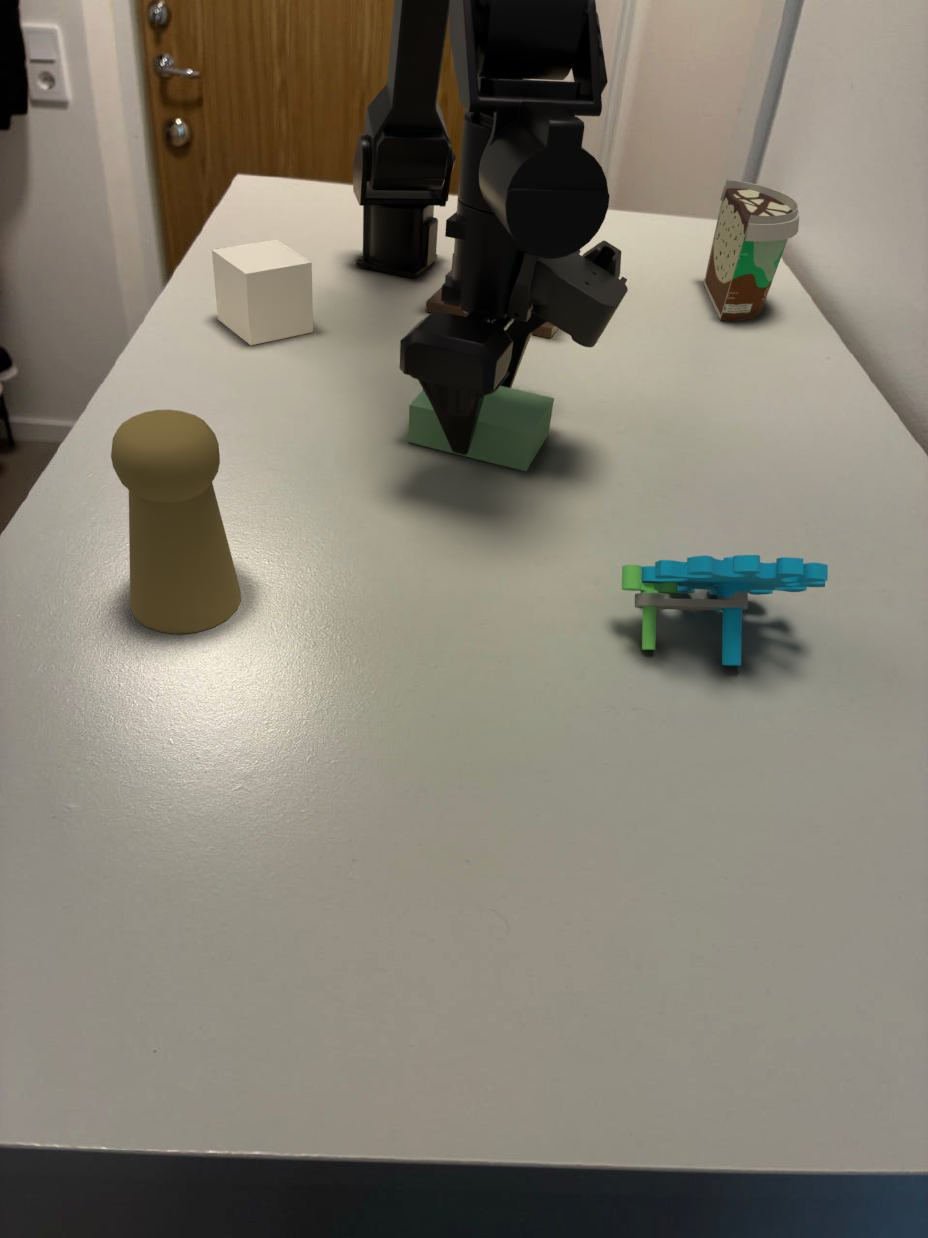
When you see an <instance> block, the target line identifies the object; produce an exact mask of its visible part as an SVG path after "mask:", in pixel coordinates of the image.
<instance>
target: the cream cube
mask: <svg viewBox="0 0 928 1238" xmlns="http://www.w3.org/2000/svg"><path fill="white" fill-rule="evenodd" d="M211 257H212V268H213V279H214V280H213V281H214V290H215V301H216V312H217V320H218V321H219V322H221V323H222V324H223V325H224V326H225V327H227V328H228V329H229V330H230V331H232V332H233V333H234V334H235V335H237V336H238V337H239V338H241V339H242V340H243V341H244V342H246V343H247V344H248V345H249V346H255V345H260V344H265V343H269V342H274V341H279V340H283V339H288V338H293V337H298V336H302V335H305V334H309V333H310V334H311V333H314V309H313V308H314V306H313V305H314V303H313V297H314V296H313V263H312V261H310V260H309V259H307V258H306V257H305V256H302V255H300V254H299V253H298V252H296V251H295V250H293V249H291V248H290V247H288V246H286V244H283V243H282V242H280V241H279V240H277V239H272V240H271V239H270V240H265V241H259V242H253V243H245V244H239V245H233V246H228V247H227V246H226V247H220V248H214V249H213V248H212V249H211Z"/></svg>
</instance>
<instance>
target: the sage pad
mask: <svg viewBox="0 0 928 1238" xmlns="http://www.w3.org/2000/svg"><path fill="white" fill-rule="evenodd" d="M554 401H555V398H554V397H551V396H547V395H542V394H537V393H534V392H530V391H526V390H521V389H516V388H512V387H511V388H508V387H504V386H500V387H499V388H498V389H497V390H496V391H495V392H493V393H492V394H487V395H485V396H484V399H483V403H482V407H481V410H480V414H479V418H478V421H477V425H476V429H475V432H474V436H473V439H472V442H471V446H470V449H469V452H468V453H467V454H466V455H462V454H458V453H455V452H453V451H452V449H451V447H450V445H449V443H448V441H447V438H446V436H445V434H444V432H443V429H442V427H441V425H440V423H439V420H438V418H437V416H436V414H435V412H434V410H433V407H432V405H431V403H430V401H429V399H428V397H427V396H426V394H425V392H424V390H423V389H422V390H421V391H420V392H419V393H418V395H417V396H416V397H414V399H413V400H412V401H411V402H410V404H409V406H408V429H407V443H409V444H414V445H417V446H420V447H421V446H422V447H426V448H430V449H434V450H436V451H437V450H438V451H442V452H446V453H450V454H454V455H458V456H462V457H467V458H470V459H474V460H478V461H482V462H487V463H490V464H495V465H498V466H502V467H505V468H510V469H514V470H518V471H522V472H527V471H528V469H529V467H530V466H531V464H532V463H533V461H534V459H535V457H536V456H537V454H538V453H539V451H540V449H541V448H542V446H543V445H544V443H545V441H546V439H548V438H547V437H548V436H549V434H550V427H551V422H552V421H551V420H552V413H553V408H554Z"/></svg>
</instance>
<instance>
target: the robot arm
mask: <svg viewBox="0 0 928 1238" xmlns="http://www.w3.org/2000/svg"><path fill="white" fill-rule="evenodd" d="M599 18H600V17H599V14H598V12H597V2H596V0H393V9H392V22H391V33H390V43H389V44H390V45H389V55H388V67H387V77H386V78H387V80H386V84H385V85H384V86H383V87H382V88H381V90H380V91H379V92H378V93H377V94H376V95H375V97H374V98H373V99H372V101H370V103H369V105H367V106H366V107H367V108H366V112H365V121H364V132H363V134H358V136H357V142H356V147H355V152H354V159H353V164H352V190H353V191H352V192H353V194H354V196H355V198H356V201H357V203H358V205H359V206H361V207H362V255H361V256H359V257H358V258H356V259H355V266H357V267H360V268H365V269H369V270H373V271H374V270H375V271H379V272H384V273H389V274H393V275H399V276H402V277H408V278H417V277H418V276H419V275H421V274H422V273H423V272H424V271H425V270H426V269H427V268H429V267H430V266H431V265H433V263H435V262H436V261H437V259H438V254H437V245H438V232H439V231H438V228H439V219H438V217H435V216H434V213H435V207H437V206H438V207H440V208H441V207H443V208H444V207H446V205H447V202H449V197H450V196H449V195H450V194H449V193H450V188H451V182H452V176H453V173H454V172H453V171H454V168H455V164H456V161H457V155H456V154H455V152H454V151H453V147H452V142H451V141H452V140H451V139H450V137H449V134H448V131H447V126H446V122H445V119H444V115H443V112H442V108H441V106H440V103H439V102H438V96H439V91H440V90H439V89H440V81H441V75H442V68H443V60H444V53H445V45H446V38H447V30H448V36H449V43H450V44H449V45H450V50H451V57H452V63H453V68H454V74H455V79H456V85H457V90H458V91H457V92H458V97H459V102H460V103H459V104H460V106H461V107H463V109H464V114H463V119H462V120H463V121H462V132H461V134H462V135H461V146H460V147H461V148H460V162H459V176H458V191H457V202H456V203H457V205H456V211H455V212H454V213H453V214H451V216H450V217H448V218H447V219H445V233H444V237H445V238H451V239H454V246H453V253H454V259H453V273H452V277H451V278H450V279H448V280H447V281H446V282H445V281H444V282H443V284H442V285H441V287H442V294H441V301H445V302H450V303H454V304H459V305H460V310H462V311H463V312H464V313H468V314H469V315H468V316H467V317H464V316H459V315H455V314H450V313H446V312H441V311H436V310H434V311H433V312H432V313H431V312H429V314H428V315H427V316H425V317H424V318H422V319H420V321H419V322H418V323H417V324H416V325H415V326H414V327H413V328H411V330H409V332H407V334H405V335H404V336H403V337H402V338H401V339H400V340H399V341H400V342H399V343H400V344H399V345H400V346H399V370H400V372H402V373H403V374H404V375H407V376H409V377H411V378H412V379H414V380H417V381H418V382H419V385H420V386H421V388H422V390H424V392H425V394H426V396H427V397H428V399H429V401H430V403H431V405H432V407H433V410H434V412H435V414H436V416H437V418H438V420H439V423H440V425H441V427H442V429H443V432H444V434H445V436H446V438H447V441H448V443H449V445H450V447H451V449H452V451H453V452H455V453H458V454H462V455H466V454H467V453H468V452H469V449H470V446H471V442H472V439H473V436H474V432H475V429H476V425H477V421H478V418H479V414H480V410H481V407H482V403H483V399H484V396H485V395H487V394H492V393H493V392H495V391H496V390H497V389H498V388H499V387H500V386H504V387H508V388H512V387H513V384H514V382H515V379H516V376H517V373H518V371H519V368H520V365H521V363H522V360H523V357H524V355H525V352H526V349H527V347H528V345H529V342H530V339H531V337H532V332H533V331H535V330H536V329H538V328H539V327H540V326H542V325H543V324H545V323H546V322H549V323H551V324H552V325H554V326H556V327H557V328H558V329H559V330H560V331H562V332H563V333H565V334H566V335H569V336H570V337H571V341H573V342H575V343H576V344H578V345H579V346H582V347H585V348H594V347H595V346H596V344H597V343H598V341H599V340H600V338H601V336H602V334H603V333H604V331H605V330H606V328H607V326H608V325H609V323H610V321H611V319H612V318H613V316H614V315H615V313H616V311H617V310H618V308H619V307H620V305H621V303H622V301H623V299H624V297H625V296H626V294H627V293H628V286H627V285H626V283H627V281H628V279H627V278H626V277H624V276H620V275H621V268H622V267H621V264H622V250H621V249H619V248H618V247H617V246H614V245H613V244H611V243H609V242H608V241H606V240H602V241H600V242H599V243H597V244H595V245H594V246H592V247H591V248H589V249H588V250H587V251H586V252H584V253H583V254H580V253H581V251H582V250H581V249H583V248H584V247H585V246H586V245H588V244H589V243H590V242H591V241H592V240H593V238H594V237H595V236H596V235H597V234H598V232H599V231H600V229H601V227H602V225H603V224H604V221H605V219H606V216H607V213H608V210H609V205H610V196H611V195H610V193H609V188H608V180H607V176H606V174H605V172H604V170H603V167H602V165H601V164H600V163H599V162H598V160H597V159H596V157H595V156H594V155H592V154H591V153H590V152H589V151H588V150H587V149H585V148H584V147H583V142H584V141H583V140H584V134H585V122H584V121H583V120H582V119H581V118H580V117H600V116H601V115H602V112H603V111H602V110H603V99H602V98H603V97H602V94H603V92H604V91H605V89H606V87H607V85H608V75H607V66H606V61H605V54H604V46H603V39H602V32H601V25H600V19H599ZM570 73H572V78H573V81H565V79H566V78H567V77H568V76H569V74H570ZM458 454H457V455H458ZM462 455H461V456H462Z"/></svg>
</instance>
